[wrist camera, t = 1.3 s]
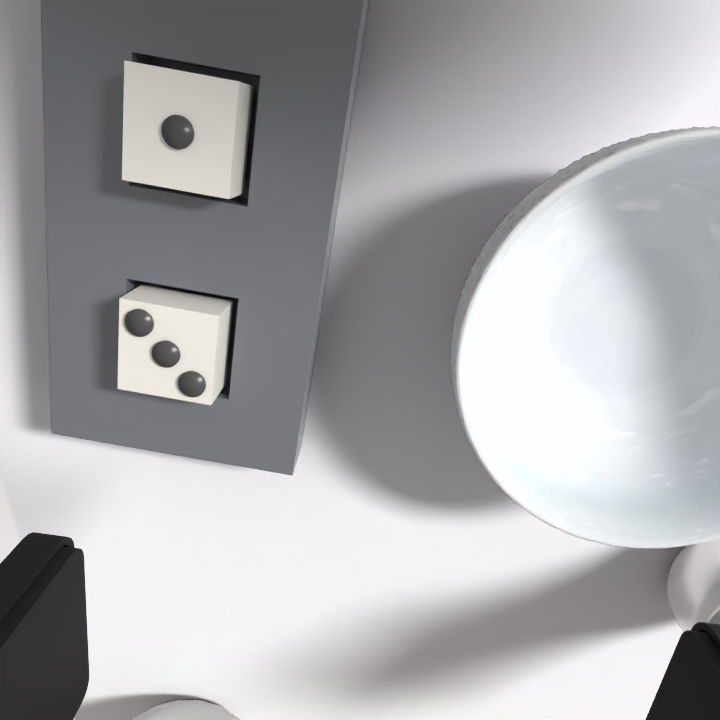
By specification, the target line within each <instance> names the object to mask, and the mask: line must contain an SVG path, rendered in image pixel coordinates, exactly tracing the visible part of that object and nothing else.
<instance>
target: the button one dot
mask: <svg viewBox="0 0 720 720" xmlns="http://www.w3.org/2000/svg"><path fill="white" fill-rule="evenodd" d="M253 88H254V86H251V85H248V84H245V83H242V82H239V81H234V80H229V79H223V78H218V77H212V76H207V75H201V74H196V73H190V72H185V71H180V70H174V69H169V68H163V67H158V66H152V65H147V64H141V63H136V62H131V61H125V60H124V101H123V149H122V180H126V181H131V182H137V183H142V184H148V185H153V186H159V187H164V188H170V189H175V190H181V191H186V192H192V193H197V194H203V195H208V196H214V197H220V198H225V199H231V198H233V197H236V196H238V195H241V194H243V193H244V183H245V173H246V162H247V151H248V141H249V130H250V120H251V109H252V99H253Z"/></svg>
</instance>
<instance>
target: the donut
mask: <svg viewBox="0 0 720 720" xmlns="http://www.w3.org/2000/svg"><path fill="white" fill-rule="evenodd" d="M131 720H239V719H238V718H237V717H236V716H234V715H233V714H231V713H230V712H228V711H227V710H226V709H224V708H223V707H221V706H218V705H215V704H211V703H208V702H205V701H201V700H177V701H173V702H169V703H166V704H162V705H158V706H155V707H152V708H151V709H149V710H147V711H145V712H143V713H142V714H140V715H138V716H136V717H134V718H133V719H131Z"/></svg>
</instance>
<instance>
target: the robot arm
mask: <svg viewBox="0 0 720 720" xmlns="http://www.w3.org/2000/svg"><path fill="white" fill-rule="evenodd" d="M88 682H89V662H88V640H87V617H86V595H85V572H84V555H83V551H82V549H78V548H74V542H73V540H72V539H71V538H69V537H64V536H56V535H49V534H41V533H34V532H33V533H30V534H28V535H27V536H26V537H25V538H23V540H22V541H21V542H20V543H19V544H18V545H17V546H16V547H15V548H14V549H13V551H12V552H11V553H10V554H9V555H8V556H7V557H6V558H5V559H4V561H2V563H1V564H0V720H73V718H74V716H75V715H76V713H77V711H78V709H79V707H80V705H81V703H82V701H83V699H84V696H85V694H86V690H87V687H88ZM646 720H720V624H712V623H705V622H698V623H696V624H695V625H694V626H693V627H692V629H691V630H690V631H689V630H686V631H685V632H683V634H682V635H681V637H680V639H679V642H678V644H677V646H676V649H675V651H674V654H673V656H672V658H671V661H670V663H669V665H668V668H667V670H666V673H665V675H664V677H663V680H662V682H661V684H660V687H659V689H658V692H657V694H656V696H655V699H654V701H653V703H652V706H651V708H650V711H649V713H648V715H647V718H646Z"/></svg>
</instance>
